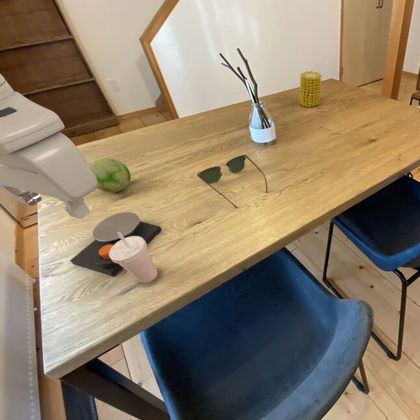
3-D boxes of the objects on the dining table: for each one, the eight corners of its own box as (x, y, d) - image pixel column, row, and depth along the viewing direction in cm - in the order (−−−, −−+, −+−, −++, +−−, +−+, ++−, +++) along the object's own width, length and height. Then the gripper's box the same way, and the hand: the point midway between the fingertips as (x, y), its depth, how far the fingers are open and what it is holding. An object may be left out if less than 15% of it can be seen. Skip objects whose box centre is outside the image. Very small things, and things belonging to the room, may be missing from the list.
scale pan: (117, 246, 63) (115, 245, 63) (83, 237, 66) (82, 235, 65) (149, 217, 70) (148, 216, 70) (118, 210, 73) (117, 208, 72)
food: (308, 102, 138) (323, 108, 133) (291, 103, 130) (306, 110, 125) (313, 69, 130) (329, 74, 125) (295, 68, 122) (311, 74, 117)
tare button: (110, 261, 61) (105, 256, 60) (99, 258, 61) (95, 253, 60) (121, 251, 63) (117, 246, 62) (110, 248, 64) (106, 243, 62)
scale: (114, 277, 61) (106, 269, 59) (73, 264, 63) (65, 256, 61) (162, 229, 71) (157, 221, 69) (125, 220, 74) (119, 212, 72)
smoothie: (155, 288, 59) (122, 246, 49) (126, 288, 59) (87, 245, 49) (168, 263, 63) (140, 220, 54) (141, 263, 63) (108, 220, 54)
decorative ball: (92, 194, 82) (71, 166, 76) (122, 176, 89) (106, 149, 82) (115, 203, 79) (95, 174, 73) (144, 183, 86) (128, 156, 79)
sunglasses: (227, 214, 76) (222, 200, 72) (201, 186, 85) (195, 173, 82) (276, 188, 84) (274, 175, 80) (247, 166, 93) (244, 153, 90)
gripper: (-122, 117, 31) (-17, 208, 40) (6, 142, 26) (90, 238, 36) (-51, 97, 35) (28, 183, 45) (69, 115, 31) (129, 207, 40)
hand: (57, 208), depth 40 cm, fingers open, 8 cm apart
